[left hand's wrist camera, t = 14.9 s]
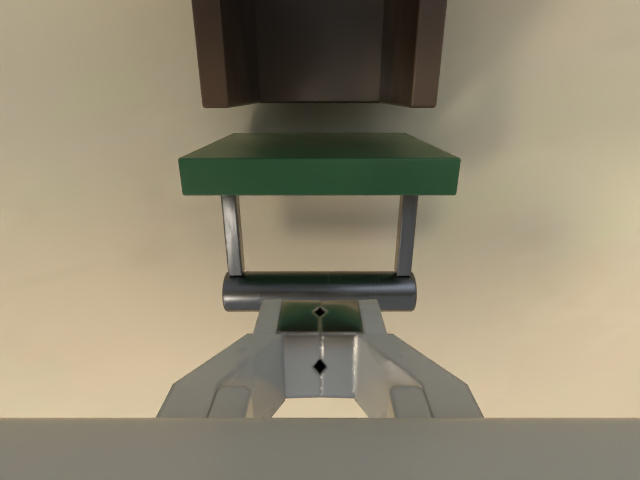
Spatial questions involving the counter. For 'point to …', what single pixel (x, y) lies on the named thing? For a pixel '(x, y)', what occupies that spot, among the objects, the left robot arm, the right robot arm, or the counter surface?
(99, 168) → the counter surface
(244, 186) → the drawer
